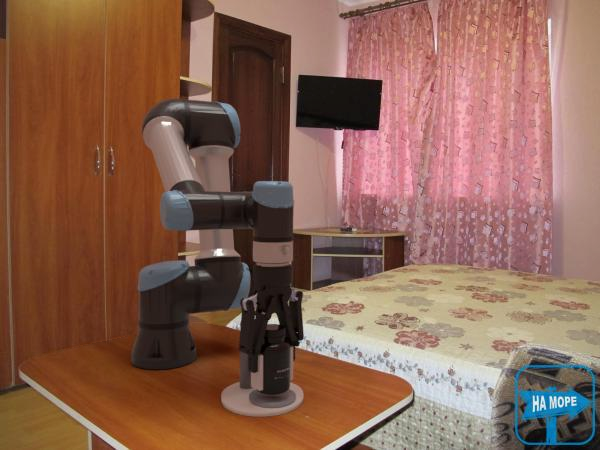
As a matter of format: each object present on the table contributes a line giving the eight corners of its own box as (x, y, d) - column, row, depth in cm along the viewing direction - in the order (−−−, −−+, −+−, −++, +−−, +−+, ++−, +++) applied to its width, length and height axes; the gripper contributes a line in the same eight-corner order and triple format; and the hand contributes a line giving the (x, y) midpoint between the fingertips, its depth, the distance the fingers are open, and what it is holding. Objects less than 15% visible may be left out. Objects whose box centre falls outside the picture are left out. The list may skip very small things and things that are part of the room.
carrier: (205, 397, 97) (205, 357, 97) (268, 377, 108) (268, 341, 108) (255, 425, 85) (255, 380, 85) (320, 399, 96) (320, 359, 96)
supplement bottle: (286, 397, 90) (285, 333, 90) (250, 394, 92) (249, 330, 91) (294, 383, 97) (293, 323, 96) (260, 380, 98) (260, 321, 98)
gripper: (242, 271, 84) (242, 403, 85) (323, 261, 97) (322, 375, 98) (217, 266, 89) (217, 391, 90) (297, 257, 102) (296, 366, 104)
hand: (272, 382), depth 94 cm, fingers closed on supplement bottle, 7 cm apart
